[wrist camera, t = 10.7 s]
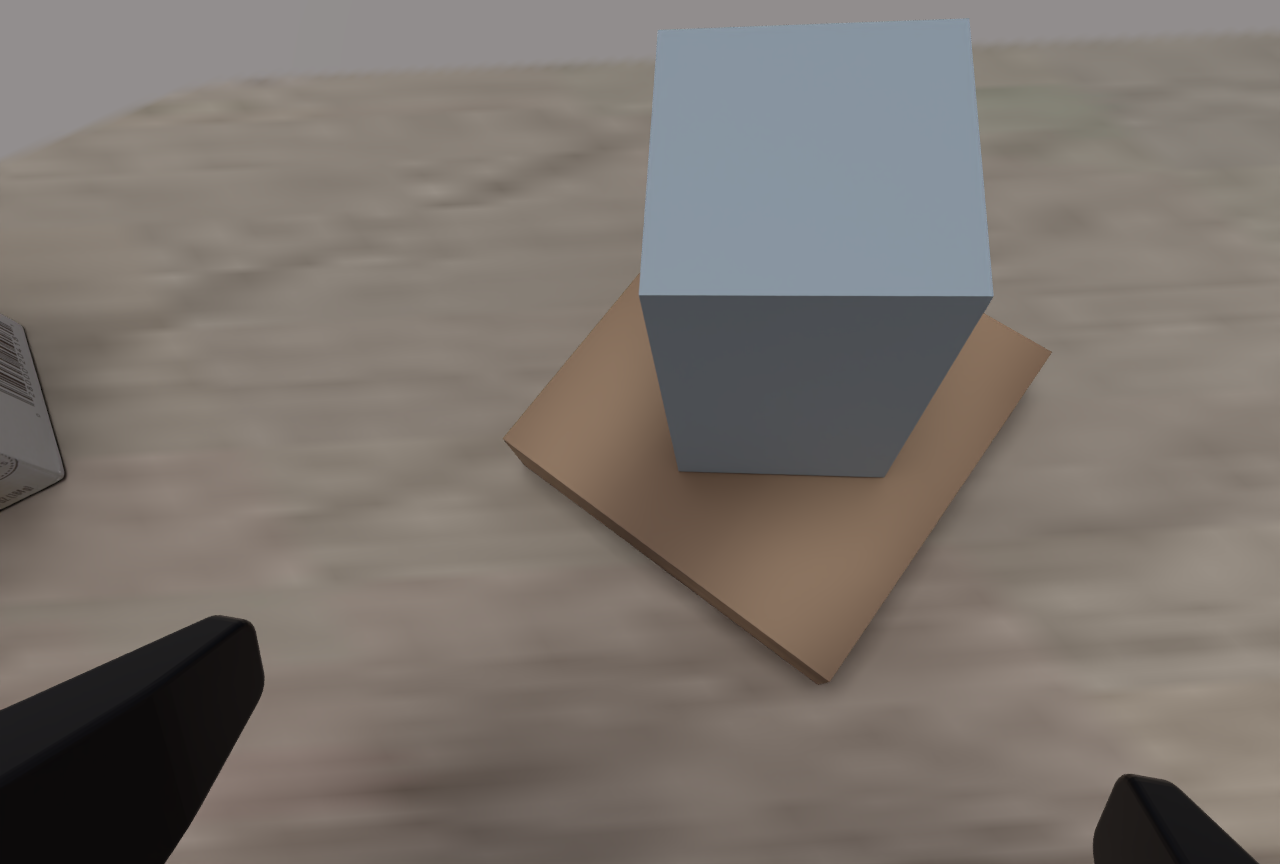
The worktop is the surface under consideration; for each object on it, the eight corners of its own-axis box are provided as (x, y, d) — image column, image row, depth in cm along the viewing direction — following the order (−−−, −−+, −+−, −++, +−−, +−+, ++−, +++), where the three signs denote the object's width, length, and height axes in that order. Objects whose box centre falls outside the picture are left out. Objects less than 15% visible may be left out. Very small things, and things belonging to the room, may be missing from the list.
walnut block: (1012, 394, 23) (1051, 352, 21) (815, 685, 22) (829, 681, 19) (726, 225, 26) (727, 166, 23) (528, 469, 24) (502, 438, 21)
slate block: (877, 294, 22) (969, 18, 13) (883, 477, 20) (993, 296, 11) (687, 293, 22) (657, 29, 14) (678, 471, 21) (638, 294, 12)
